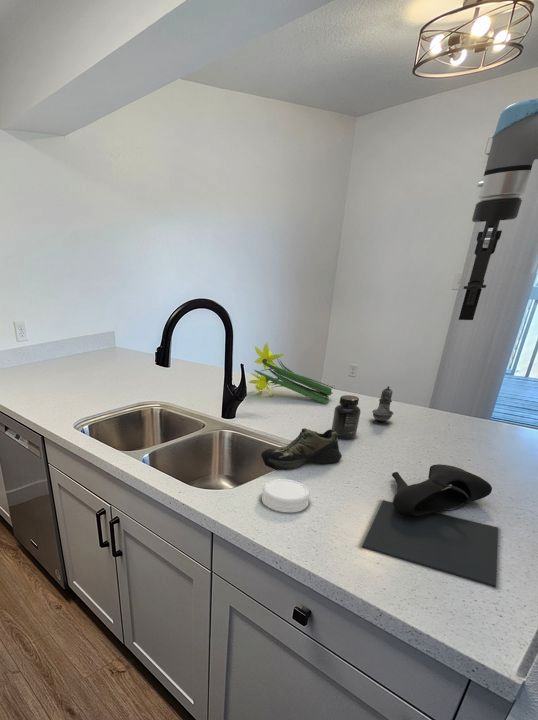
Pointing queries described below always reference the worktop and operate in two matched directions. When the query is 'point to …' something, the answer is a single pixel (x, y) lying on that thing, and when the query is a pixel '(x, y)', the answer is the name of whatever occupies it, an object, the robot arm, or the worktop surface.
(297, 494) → the coaster
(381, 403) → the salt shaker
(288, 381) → the daffodil flowers
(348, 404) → the supplement bottle
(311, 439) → the hiking shoe
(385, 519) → the mat
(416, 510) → the high-heeled shoe
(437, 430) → the worktop surface
